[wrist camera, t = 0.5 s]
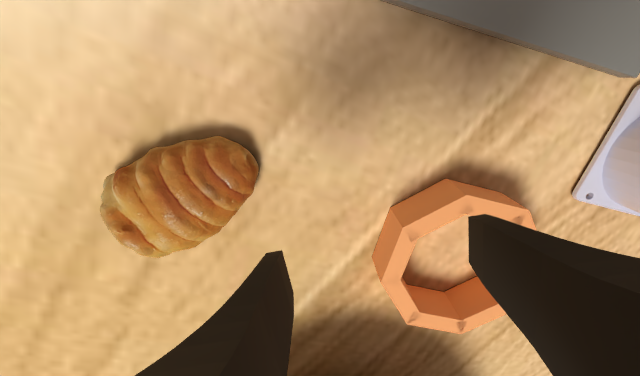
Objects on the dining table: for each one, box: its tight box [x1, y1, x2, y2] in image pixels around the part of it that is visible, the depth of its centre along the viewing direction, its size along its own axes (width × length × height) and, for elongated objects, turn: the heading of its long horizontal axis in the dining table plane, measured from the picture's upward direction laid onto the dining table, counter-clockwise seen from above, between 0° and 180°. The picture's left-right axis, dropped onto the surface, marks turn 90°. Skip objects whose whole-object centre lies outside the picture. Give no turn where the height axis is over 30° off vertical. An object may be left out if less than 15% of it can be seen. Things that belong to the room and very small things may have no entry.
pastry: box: [100, 136, 259, 258], centre depth 19 cm, size 9×7×4 cm
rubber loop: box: [372, 179, 537, 334], centre depth 21 cm, size 10×10×3 cm
